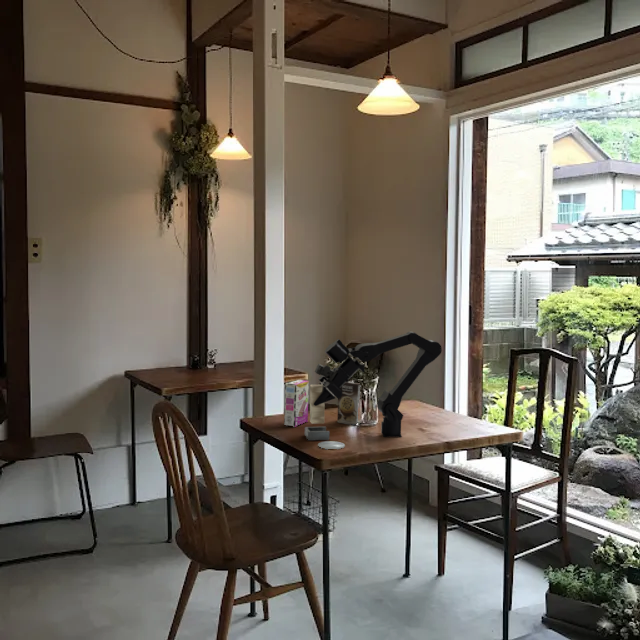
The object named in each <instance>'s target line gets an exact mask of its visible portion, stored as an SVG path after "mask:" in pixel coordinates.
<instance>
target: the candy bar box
mask: <svg viewBox="0 0 640 640" xmlns="http://www.w3.org/2000/svg"><path fill="white" fill-rule="evenodd" d="M284 387H285V388H284V389H285V390H284V418H283V419H284V421H283V426H284V425H286V426H285V427H288V426H293V427H292V428H296V427H299V426H301V425H303V423H304V424H306V423H308V422H309V397H310V381H309V380H306V379H305V380H303V379H297V380H294V381H289V382H286V383H285V384H284ZM305 422H306V423H305ZM300 424H301V425H300ZM298 425H299V426H298Z"/></svg>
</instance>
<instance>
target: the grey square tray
mask: <svg viewBox="0 0 640 640" xmlns="http://www.w3.org/2000/svg"><path fill="white" fill-rule="evenodd" d="M304 436H306V437H305V438H306V440H307V439H308V440H307V441H329V440H330V430H327V426H304Z"/></svg>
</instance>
